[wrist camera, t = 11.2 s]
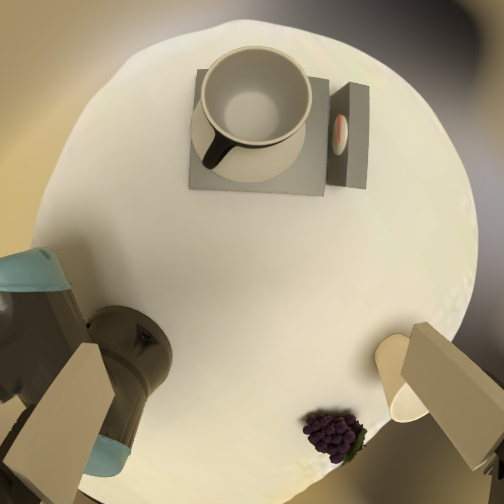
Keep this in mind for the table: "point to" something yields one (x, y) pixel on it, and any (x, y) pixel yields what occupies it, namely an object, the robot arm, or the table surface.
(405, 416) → the cup
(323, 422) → the fruit
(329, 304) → the table surface
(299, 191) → the scale
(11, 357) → the robot arm
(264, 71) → the mug
